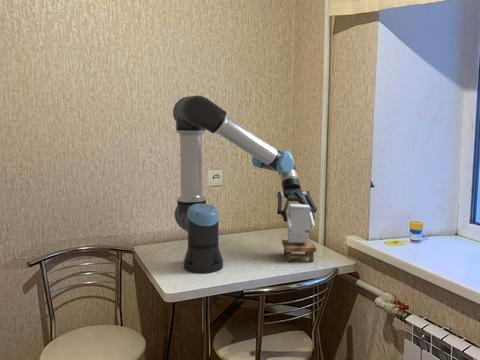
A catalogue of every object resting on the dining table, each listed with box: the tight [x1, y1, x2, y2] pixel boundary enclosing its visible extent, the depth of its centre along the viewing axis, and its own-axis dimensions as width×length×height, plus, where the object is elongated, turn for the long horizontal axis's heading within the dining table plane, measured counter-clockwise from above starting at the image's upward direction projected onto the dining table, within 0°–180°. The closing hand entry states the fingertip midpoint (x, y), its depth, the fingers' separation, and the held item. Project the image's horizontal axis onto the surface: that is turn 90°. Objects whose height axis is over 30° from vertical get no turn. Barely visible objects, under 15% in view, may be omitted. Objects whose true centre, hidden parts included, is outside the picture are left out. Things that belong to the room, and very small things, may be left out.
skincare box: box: [287, 203, 310, 243], centre depth 176 cm, size 8×6×15 cm
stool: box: [281, 239, 317, 263], centre depth 177 cm, size 12×12×6 cm
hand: (301, 227), depth 173 cm, fingers closed on skincare box, 9 cm apart
